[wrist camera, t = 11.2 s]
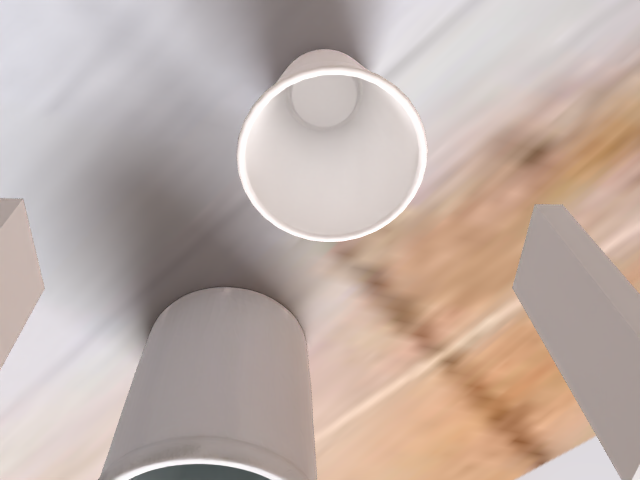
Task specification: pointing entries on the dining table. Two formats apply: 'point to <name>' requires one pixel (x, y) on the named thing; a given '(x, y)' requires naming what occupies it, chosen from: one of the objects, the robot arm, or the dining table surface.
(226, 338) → the utensil holder
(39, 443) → the dining table surface
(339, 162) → the cup
